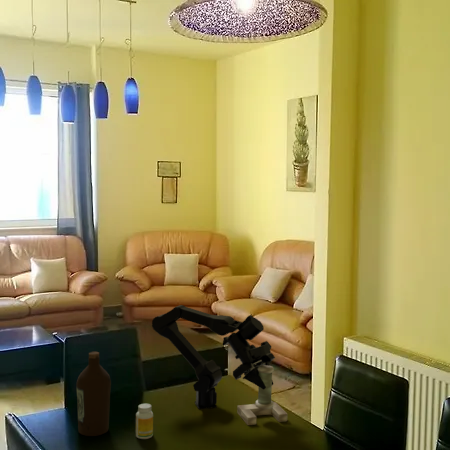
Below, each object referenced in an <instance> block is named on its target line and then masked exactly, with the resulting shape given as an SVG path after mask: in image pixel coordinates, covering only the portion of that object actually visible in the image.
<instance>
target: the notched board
mask: <svg viewBox="0 0 450 450" xmlns="http://www.w3.org/2000/svg"><path fill="white" fill-rule="evenodd" d="M273 402H274V405H273V408H271V409H260V408H257V407H256V403H252V404H251V403H250V404H241V405H239V404H238V405H236V406H237V408H236V410H237V412H236V413H237V414H238V415H239V417H240V418H241V419H242V420H243V421H244V422H245V424H246V426H253V425H257V416H265V415H271V416H272V417H273V418H274V419H275V420H276V421H278V423H283V422H287V421H288V413H287V411H285V410H284V409H283V408H282V406H280V405H279V404H278V403H277V402H276V401H273Z"/></svg>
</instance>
